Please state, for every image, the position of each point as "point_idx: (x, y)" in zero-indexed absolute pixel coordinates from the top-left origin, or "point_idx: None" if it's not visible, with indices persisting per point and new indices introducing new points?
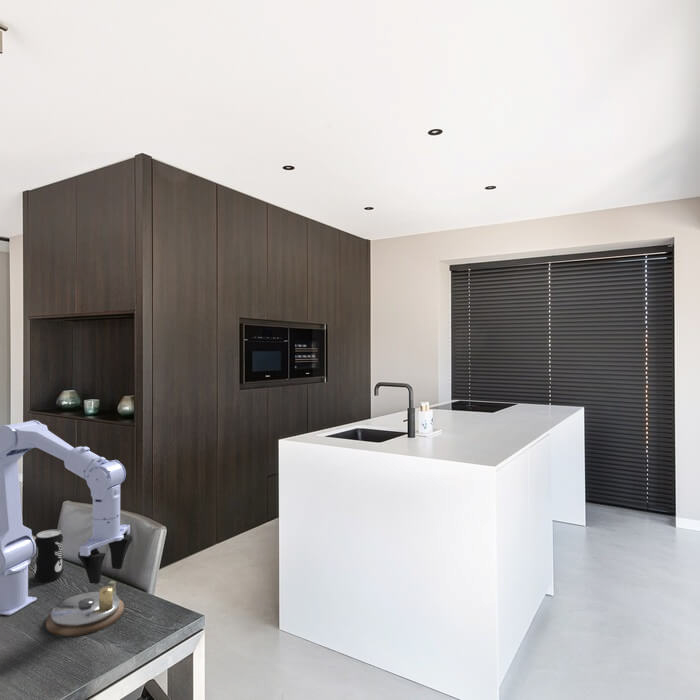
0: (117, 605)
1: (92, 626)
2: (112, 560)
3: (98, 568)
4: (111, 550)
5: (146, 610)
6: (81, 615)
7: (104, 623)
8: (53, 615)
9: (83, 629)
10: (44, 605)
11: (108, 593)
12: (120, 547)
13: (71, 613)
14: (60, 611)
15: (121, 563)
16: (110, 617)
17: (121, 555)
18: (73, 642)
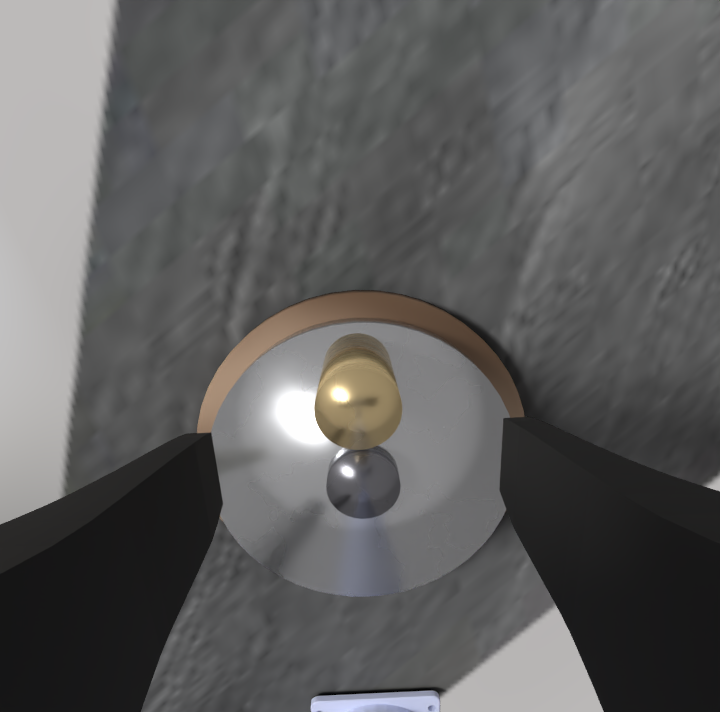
0: (305, 333)
1: (464, 341)
2: (193, 562)
3: (672, 476)
4: (138, 686)
5: (214, 211)
6: (449, 430)
7: (428, 305)
8: (477, 541)
9: (495, 362)
10: (336, 646)
11: (379, 367)
12: (67, 623)
13: (444, 485)
14: (440, 540)
15: (184, 448)
16: (370, 317)
17: (134, 511)
18: (556, 348)
